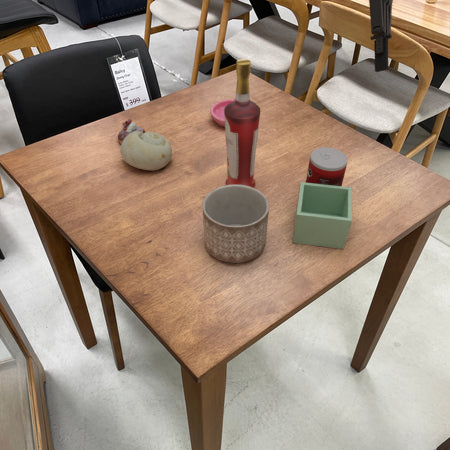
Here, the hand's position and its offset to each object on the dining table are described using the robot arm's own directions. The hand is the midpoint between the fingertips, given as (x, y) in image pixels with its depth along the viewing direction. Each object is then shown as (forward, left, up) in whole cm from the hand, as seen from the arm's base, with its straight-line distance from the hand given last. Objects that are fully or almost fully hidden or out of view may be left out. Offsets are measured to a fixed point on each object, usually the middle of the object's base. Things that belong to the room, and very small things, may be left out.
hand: (381, 70), depth 102 cm
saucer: (+26, +25, -18) cm, 40 cm away
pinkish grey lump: (+31, +53, -18) cm, 64 cm away
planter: (-17, +50, -18) cm, 56 cm away
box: (-22, +32, -18) cm, 43 cm away
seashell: (+19, +54, -18) cm, 60 cm away
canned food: (-15, +26, -18) cm, 34 cm away
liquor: (-1, +39, -18) cm, 43 cm away
